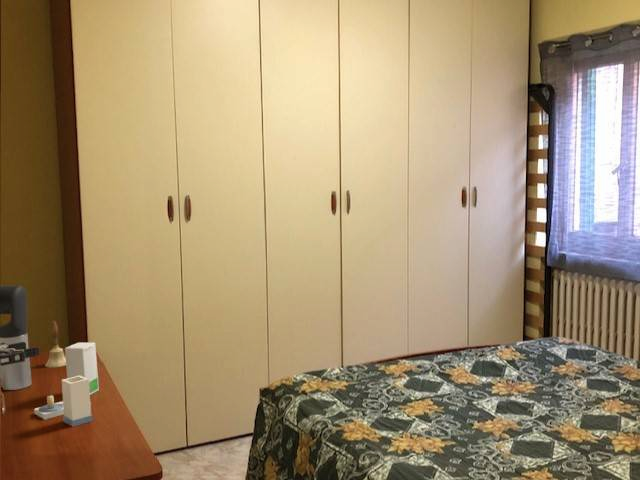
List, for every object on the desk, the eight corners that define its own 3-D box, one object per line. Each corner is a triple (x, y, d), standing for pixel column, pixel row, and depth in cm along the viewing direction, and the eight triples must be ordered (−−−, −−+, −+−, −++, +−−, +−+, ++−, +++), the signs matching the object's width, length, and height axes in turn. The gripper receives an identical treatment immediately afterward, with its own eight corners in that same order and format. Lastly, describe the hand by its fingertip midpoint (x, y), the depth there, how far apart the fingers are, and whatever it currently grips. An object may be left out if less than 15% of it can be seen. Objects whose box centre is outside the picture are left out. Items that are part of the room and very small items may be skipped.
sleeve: (72, 426, 196) (69, 384, 195) (63, 421, 200) (59, 379, 199) (93, 420, 200) (90, 379, 199) (83, 415, 204) (80, 374, 203)
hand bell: (50, 369, 252) (47, 324, 250) (41, 364, 258) (38, 321, 256) (73, 364, 257) (70, 320, 255) (64, 359, 263) (60, 317, 261)
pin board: (44, 419, 202) (43, 402, 202) (34, 413, 207) (33, 397, 207) (91, 406, 212) (89, 390, 211) (80, 401, 217) (79, 385, 216)
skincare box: (86, 398, 219) (82, 349, 217) (66, 397, 221) (63, 348, 219) (99, 389, 227) (96, 341, 226) (80, 388, 229) (77, 341, 227)
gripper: (-25, 351, 173) (41, 338, 184) (-44, 342, 183) (20, 330, 194) (-22, 381, 174) (44, 366, 185) (-41, 370, 184) (22, 357, 195)
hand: (31, 348), depth 190 cm, fingers open, 8 cm apart
